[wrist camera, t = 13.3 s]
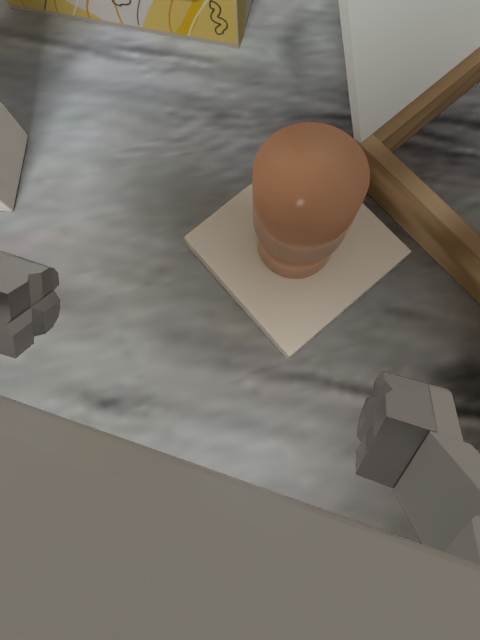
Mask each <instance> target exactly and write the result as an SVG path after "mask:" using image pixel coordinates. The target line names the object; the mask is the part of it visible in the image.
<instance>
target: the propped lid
mask: <svg viewBox="0 0 480 640" xmlns="http://www.w3.org/2000/svg"><path fill="white" fill-rule="evenodd" d="M338 2H339V11H340V20H341V29H342V38H343V47H344V56H345V65H346V73H347V82H348V91H349V100H350V109H351V118H352V127H353V136H354V140H356V141H358V142H360V143H362V142H363V141H364V140H365V139H367V138H368V137H369V136H370V135H371V134H373V133H374V132H375V131H376V130H378V129H379V128H380V127H381V126H383V125H384V124H385V123H386V122H387V121H389V120H390V119H391V118H392V117H394V116H395V115H396V114H397V113H399V112H400V111H401V110H402V109H404V108H405V107H406V106H407V105H408V104H410V103H411V102H412V101H413V100H415V99H416V98H417V97H418V96H420V95H421V94H422V93H423V92H424V91H426V90H427V89H428V88H429V87H431V86H432V85H433V84H434V83H436V82H437V81H438V80H439V79H441V78H442V77H443V76H444V75H445V74H447V73H448V72H449V71H450V70H452V69H453V68H454V67H455V66H457V65H458V64H459V63H460V62H461V61H463V60H464V59H465V58H466V57H468V56H469V55H470V54H471V53H473V52H474V51H475V50H476V49H477V48H479V47H480V0H338Z"/></svg>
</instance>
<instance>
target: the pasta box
mask: <svg viewBox="0 0 480 640" xmlns="http://www.w3.org/2000/svg"><path fill="white" fill-rule="evenodd" d="M252 1H253V0H6V2H7V3H8V5H9V7H10V8H14V9H19V10H25V11H31V12H36V13H42V14H48V15H53V16H59V17H64V18H70V19H76V20H81V21H87V22H93V23H98V24H104V25H109V26H115V27H121V28H126V29H132V30H138V31H143V32H149V33H154V34H160V35H166V36H171V37H177V38H183V39H188V40H194V41H199V42H205V43H211V44H216V45H222V46H228V47H233V48H239V47H240V43H241V40H242V36H243V33H244V29H245V26H246V22H247V19H248V15H249V12H250V8H251V5H252Z"/></svg>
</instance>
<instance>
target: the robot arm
mask: <svg viewBox="0 0 480 640" xmlns="http://www.w3.org/2000/svg"><path fill="white" fill-rule="evenodd" d="M58 285H59V277H58V272H57V271H56V270H55V269H54V268H52V267H49V266H46V265H43V264H40V263H37V262H34V261H31V260H28V259H25V258H22V257H18V256H16V255H13V254H10V253H7V252H3V251H0V354H3V355H6V356H9V357H12V358H17V357H18V356H19V355H20V354H22V353H23V352H24V351H25V350H26V349H28V348H29V347H30V346H31V345H32V344H34V336H38V335H42V334H45V333H47V332H48V331H49V330H50V329H51V328H52V327H53V326H54V324H55V322H56V320H57V319H58V316H59V311H60V299H59V298H58V296H57V295H56V293H55V291H54V290H55V289H56V288H57V287H58ZM357 437H358V439H359V440H360V442H361V443H360V445H359V447H358V449H357V451H356V475H359V476H362V477H364V478H367V479H370V480H372V481H375V482H378V483H381V484H383V485H386V486H389V487H391V488H394V489H393V491H394V493H395V494H396V496H397V498H398V500H399V502H400V504H401V506H402V507H403V509H404V511H405V513H406V515H407V517H408V518H409V520H410V522H411V524H412V526H413V528H414V530H415V531H416V533H417V535H418V537H419V539H420V541H421V542H422V544H421V543H418V542H416V541H413V540H410V539H407V538H404V537H401V536H399V535H396V534H393V533H390V532H387V531H384V530H382V529H379V528H376V527H373V526H370V525H367V524H364V523H362V522H359V521H356V520H353V519H350V518H347V517H344V516H341V515H339V514H336V513H333V512H330V511H327V510H324V509H321V508H319V507H316V506H313V505H310V504H307V503H304V502H302V501H299V500H296V499H293V498H290V497H287V496H285V495H282V494H279V493H276V492H273V491H271V490H268V489H265V488H262V487H259V486H256V485H254V484H251V483H248V482H245V481H242V480H239V479H237V478H234V477H231V476H228V475H225V474H223V473H220V472H217V471H214V470H211V469H208V468H206V467H203V466H200V465H197V464H194V463H191V462H189V461H186V460H183V459H180V458H177V457H175V456H172V455H169V454H166V453H163V452H160V451H158V450H155V449H152V448H149V447H146V446H143V445H140V444H138V443H135V442H132V441H129V440H126V439H123V438H120V437H118V436H115V435H112V434H109V433H106V432H103V431H101V430H98V429H95V428H92V427H89V426H86V425H83V424H81V423H78V422H75V421H72V420H69V419H66V418H64V417H61V416H58V415H55V414H52V413H49V412H46V411H44V410H41V409H38V408H35V407H32V406H29V405H27V404H24V403H21V402H18V401H15V400H12V399H10V398H7V397H4V396H1V395H0V640H480V453H479V452H478V451H477V450H476V449H475V448H474V447H473V446H472V445H471V444H469V443H466V442H464V440H463V436H462V432H461V428H460V424H459V420H458V416H457V412H456V408H455V404H454V400H453V396H452V393H451V391H450V390H449V389H445V388H442V387H438V386H434V385H431V384H427V383H422V382H419V381H415V380H412V379H409V378H405V377H402V376H398V375H395V374H391V373H388V372H385V371H381V372H380V374H379V375H378V377H377V379H376V381H375V383H374V395H372V396H370V397H368V398H367V399H366V401H365V404H364V406H363V408H362V411H361V414H360V418H359V422H358V428H357Z"/></svg>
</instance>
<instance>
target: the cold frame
mask: <svg viewBox="0 0 480 640" xmlns="http://www.w3.org/2000/svg"><path fill="white" fill-rule="evenodd" d="M479 81H480V47H479V48H477V49H476V50H475V51H474V52H473V53H471V54H470V55H469V56H468V57H466V58H465V59H464V60H463V61H461V62H460V63H459V64H458V65H457V66H455V67H454V68H453V69H452V70H450V71H449V72H448V73H447V74H445V75H444V76H443V77H442V78H441V79H439V80H438V81H437V82H436V83H434V84H433V85H432V86H431V87H429V88H428V89H427V90H426V91H424V92H423V93H422V94H421V95H420V96H418V97H417V98H416V99H415V100H413V101H412V102H411V103H410V104H408V105H407V106H406V107H405V108H404V109H402V110H401V111H400V112H399V113H397V114H396V115H395V116H394V117H392V118H391V119H390V120H389V121H387V122H386V123H385V124H384V125H383V126H381V127H380V128H379V129H378V130H376V131H375V132H374V133H373V134H371V135H370V136H369V137H368V138H367V139H365V140H364V141H363V142H362V143H360V142H358V141H357V143H358V144H359V145H360V147H361V148H362V150H363V151H364V153H365V155H366V158H367V160H368V164H369V169H370V183H369V188H368V191H367V194H368V195H369V196H370V197H371V198H372V199H373V200H374V201H375V202H376V203H377V204H378V205H379V206H380V207H381V208H382V209H383V210H384V211H385V212H386V213H388V214H389V215H390V216H391V217H392V218H393V219H394V220H395V221H396V222H397V223H398V224H399V225H400V226H401V227H402V228H403V229H404V230H405V231H406V232H407V233H408V234H409V235H410V236H411V237H412V238H413V239H414V240H415V241H416V242H417V243H418V244H419V245H420V246H421V247H422V248H423V249H424V250H425V251H426V252H427V253H428V254H429V255H430V256H431V257H432V258H433V259H434V260H435V261H436V262H437V263H438V264H439V265H440V266H442V267H443V268H444V269H445V270H446V271H447V272H448V273H449V274H450V275H451V276H452V277H453V278H454V279H455V280H456V281H457V282H458V283H459V284H460V285H461V286H462V287H463V288H464V289H465V290H466V291H467V292H468V293H469V294H470V295H471V296H472V297H473V298H474V299H475V300H476V301H477V302H478V303H479V304H480V235H479V234H478V233H477V232H476V231H475V230H474V229H473V228H472V227H471V226H470V225H469V224H467V223H466V222H465V221H464V220H463V219H462V218H461V217H460V216H459V215H458V214H457V213H456V212H455V211H454V210H453V209H452V208H450V207H449V206H448V205H447V204H446V203H445V202H444V201H443V200H442V199H441V198H440V197H439V196H438V195H437V194H436V193H435V192H434V191H432V190H431V189H430V188H429V187H428V186H427V185H426V184H425V183H424V182H423V181H422V180H421V179H420V178H419V177H418V176H417V175H415V174H414V173H413V172H412V171H411V170H410V169H409V168H408V167H407V166H406V165H405V164H404V163H403V162H402V161H401V160H400V159H398V158H397V157H396V156H395V155H394V154H393V152H394V151H395V150H396V149H397V148H399V147H400V146H401V145H402V144H404V143H405V142H406V141H407V140H408V139H410V138H411V137H412V136H413V135H414V134H416V133H417V132H418V131H419V130H421V129H422V128H423V127H424V126H425V125H427V124H428V123H429V122H430V121H431V120H433V119H434V118H435V117H436V116H438V115H439V114H440V113H441V112H442V111H444V110H445V109H446V108H447V107H448V106H450V105H451V104H452V103H453V102H455V101H456V100H457V99H458V98H459V97H461V96H462V95H463V94H464V93H465V92H467V91H468V90H469V89H470V88H472V87H473V86H474V85H475V84H476V83H478V82H479Z"/></svg>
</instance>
